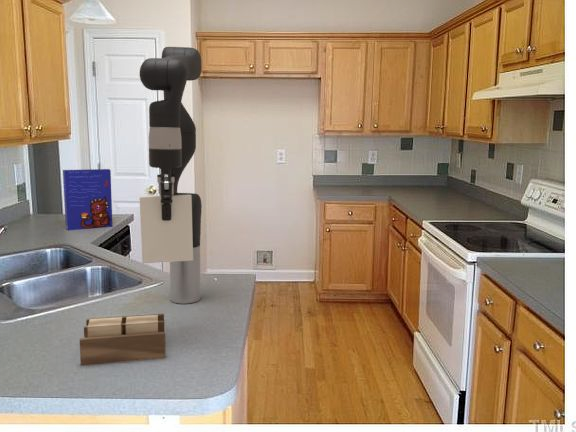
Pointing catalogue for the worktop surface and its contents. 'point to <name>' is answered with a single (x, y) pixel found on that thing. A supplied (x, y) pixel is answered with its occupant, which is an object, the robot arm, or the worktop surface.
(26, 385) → the worktop surface
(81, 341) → the rack
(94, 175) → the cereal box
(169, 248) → the cutting board
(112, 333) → the offcut block
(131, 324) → the offcut block
